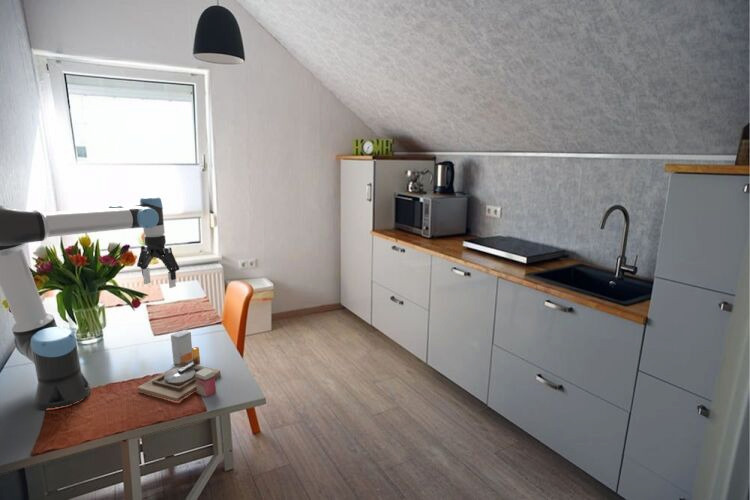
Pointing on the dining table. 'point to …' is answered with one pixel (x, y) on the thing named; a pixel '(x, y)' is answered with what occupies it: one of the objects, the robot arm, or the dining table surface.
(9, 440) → the dining table surface
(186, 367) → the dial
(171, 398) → the beige square board
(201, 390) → the small box
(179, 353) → the skincare box
